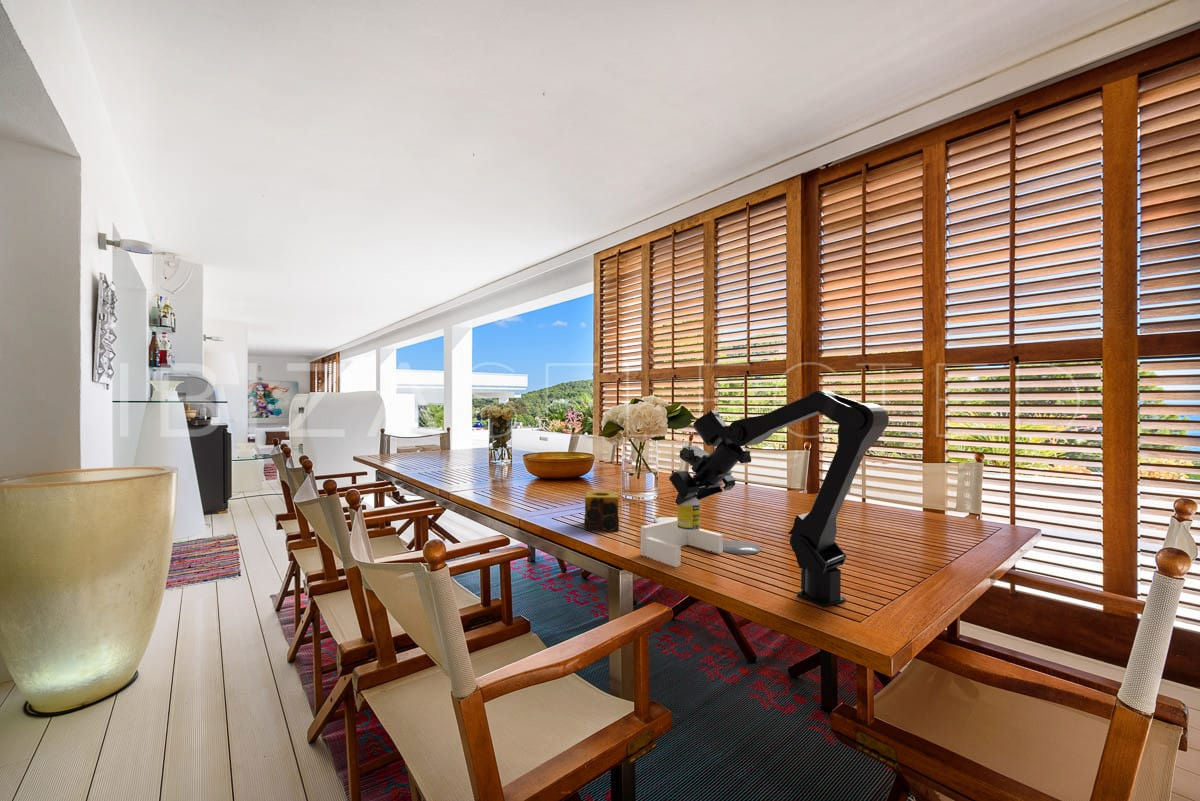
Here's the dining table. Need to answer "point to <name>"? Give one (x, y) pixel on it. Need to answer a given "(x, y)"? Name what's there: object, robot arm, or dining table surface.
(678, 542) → the cream u-shaped arch
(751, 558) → the dining table surface
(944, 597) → the dining table surface
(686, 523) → the supplement bottle
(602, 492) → the candle
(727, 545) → the coaster
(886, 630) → the dining table surface
